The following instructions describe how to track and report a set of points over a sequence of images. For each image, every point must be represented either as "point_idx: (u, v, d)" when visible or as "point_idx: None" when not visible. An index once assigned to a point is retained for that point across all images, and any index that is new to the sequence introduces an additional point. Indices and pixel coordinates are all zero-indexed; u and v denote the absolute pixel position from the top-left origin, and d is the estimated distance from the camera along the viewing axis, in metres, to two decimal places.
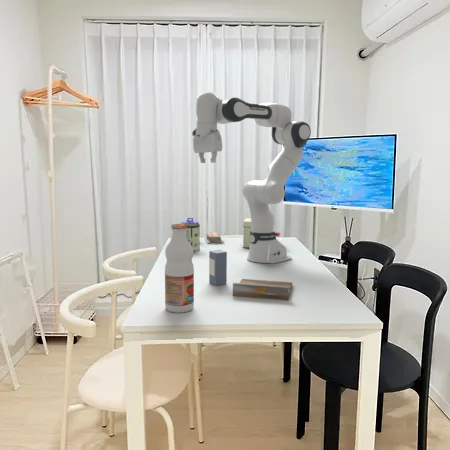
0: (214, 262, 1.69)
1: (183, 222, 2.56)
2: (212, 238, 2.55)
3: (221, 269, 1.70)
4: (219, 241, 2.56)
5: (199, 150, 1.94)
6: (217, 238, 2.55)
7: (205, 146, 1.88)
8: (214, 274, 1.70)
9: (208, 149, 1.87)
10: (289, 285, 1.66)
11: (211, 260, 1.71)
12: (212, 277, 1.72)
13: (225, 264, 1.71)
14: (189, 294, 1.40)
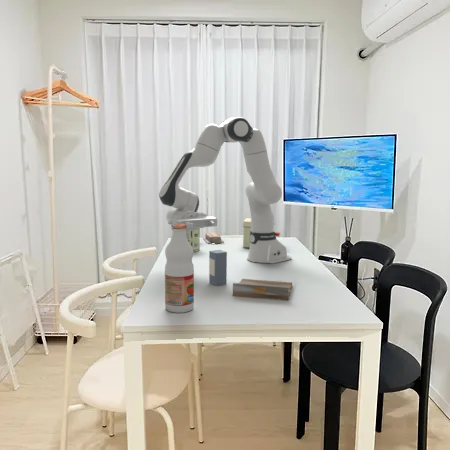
0: (214, 262, 1.69)
1: None
2: (212, 238, 2.55)
3: (221, 269, 1.70)
4: (219, 241, 2.56)
5: None
6: (217, 238, 2.55)
7: None
8: (214, 274, 1.70)
9: None
10: (289, 285, 1.66)
11: (211, 260, 1.71)
12: (212, 277, 1.72)
13: (225, 264, 1.71)
14: (189, 294, 1.40)
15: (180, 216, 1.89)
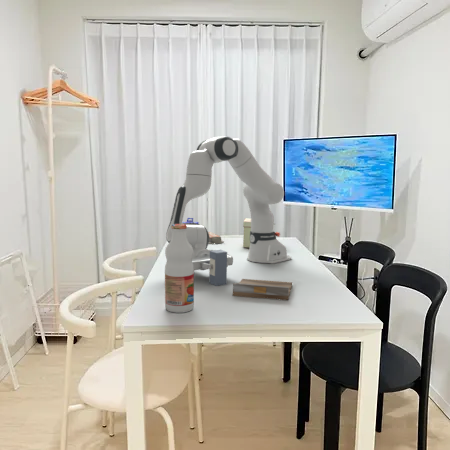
0: (214, 262, 1.69)
1: (183, 222, 2.55)
2: (213, 238, 2.55)
3: (221, 268, 1.70)
4: (219, 241, 2.56)
5: None
6: (218, 238, 2.56)
7: None
8: (214, 274, 1.70)
9: None
10: (289, 285, 1.66)
11: (211, 260, 1.71)
12: (212, 277, 1.72)
13: (225, 264, 1.71)
14: (189, 294, 1.40)
15: (194, 255, 1.81)
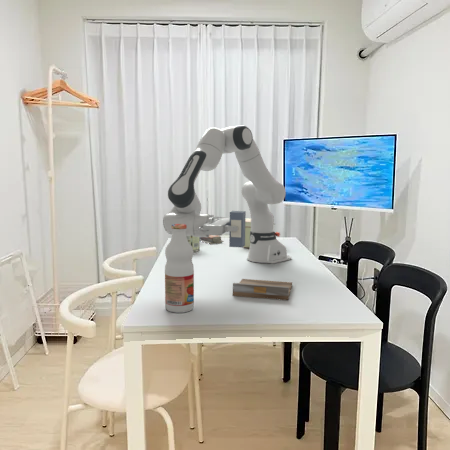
0: (240, 222, 1.60)
1: None
2: (214, 238, 2.55)
3: (243, 229, 1.63)
4: (220, 241, 2.57)
5: None
6: (218, 238, 2.56)
7: None
8: (240, 235, 1.61)
9: None
10: (289, 285, 1.66)
11: (235, 221, 1.60)
12: (235, 239, 1.61)
13: None
14: (189, 294, 1.40)
15: (201, 221, 1.62)
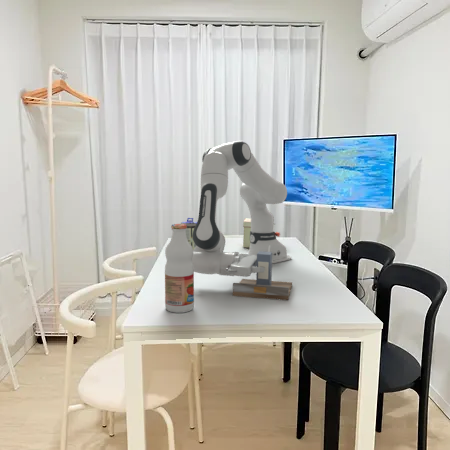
0: (268, 264, 1.60)
1: (183, 222, 2.55)
2: None
3: (270, 270, 1.63)
4: None
5: None
6: None
7: None
8: (268, 277, 1.60)
9: None
10: (289, 285, 1.66)
11: (262, 263, 1.60)
12: (262, 281, 1.61)
13: (271, 265, 1.64)
14: (189, 294, 1.40)
15: (228, 260, 1.62)
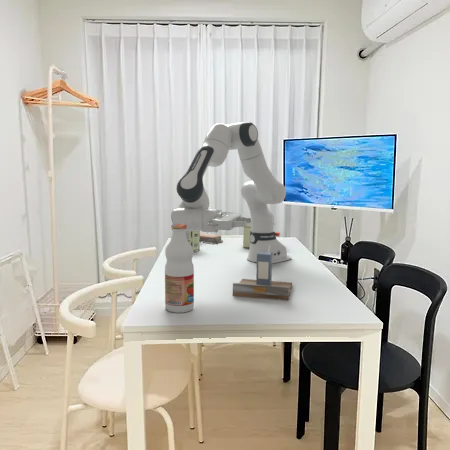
0: (268, 264, 1.60)
1: None
2: (216, 238, 2.55)
3: (270, 270, 1.63)
4: (220, 240, 2.59)
5: None
6: (219, 237, 2.58)
7: None
8: (268, 277, 1.60)
9: None
10: (289, 285, 1.66)
11: (262, 263, 1.60)
12: (262, 281, 1.61)
13: (271, 265, 1.64)
14: (189, 294, 1.40)
15: (210, 216, 1.61)
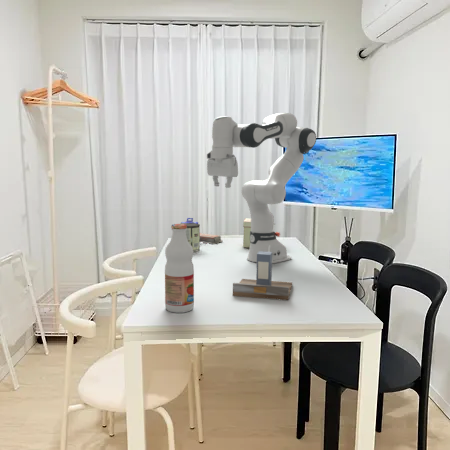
0: (268, 264, 1.60)
1: (183, 222, 2.55)
2: (215, 238, 2.55)
3: (270, 270, 1.63)
4: (220, 240, 2.59)
5: (213, 173, 1.90)
6: (218, 237, 2.57)
7: (220, 170, 1.85)
8: (268, 277, 1.60)
9: (223, 173, 1.83)
10: (289, 285, 1.66)
11: (262, 263, 1.60)
12: (262, 281, 1.61)
13: (271, 265, 1.64)
14: (189, 294, 1.40)
15: (231, 155, 1.84)
